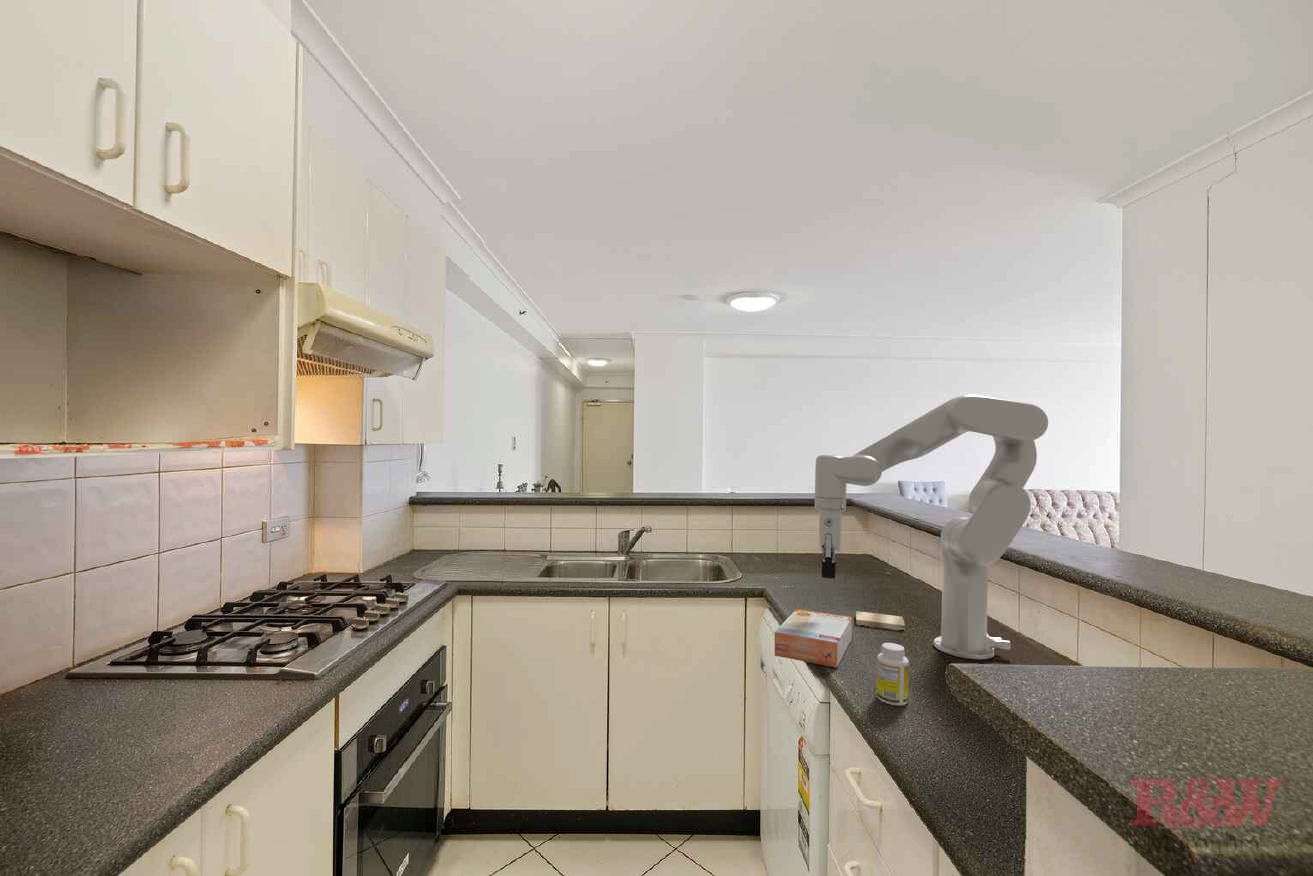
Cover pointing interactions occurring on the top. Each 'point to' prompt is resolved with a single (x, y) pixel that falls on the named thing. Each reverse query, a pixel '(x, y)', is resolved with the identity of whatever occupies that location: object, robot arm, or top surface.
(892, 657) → the supplement bottle
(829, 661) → the cracker box
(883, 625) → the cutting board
